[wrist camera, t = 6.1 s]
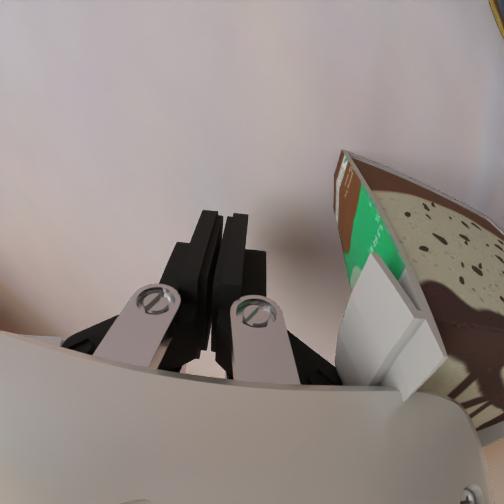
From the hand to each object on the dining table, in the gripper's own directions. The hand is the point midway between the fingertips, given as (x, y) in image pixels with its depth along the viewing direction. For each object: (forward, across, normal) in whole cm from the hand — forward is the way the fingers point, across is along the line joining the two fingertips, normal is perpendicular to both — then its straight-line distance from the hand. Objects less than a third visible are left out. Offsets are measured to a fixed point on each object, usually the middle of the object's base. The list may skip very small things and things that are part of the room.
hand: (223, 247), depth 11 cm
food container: (+3, -8, 0) cm, 9 cm away
